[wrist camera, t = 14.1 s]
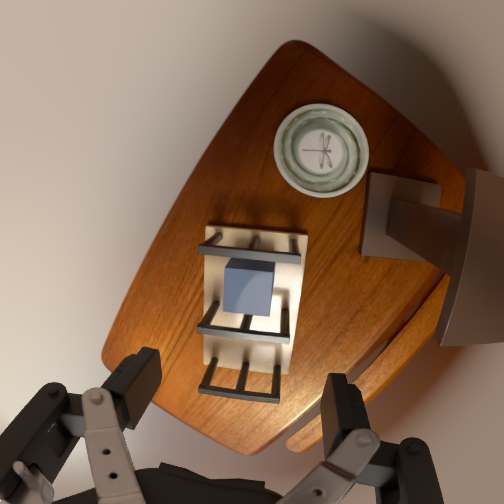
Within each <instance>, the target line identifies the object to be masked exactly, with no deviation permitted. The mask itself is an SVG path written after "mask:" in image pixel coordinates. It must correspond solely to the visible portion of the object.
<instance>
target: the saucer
mask: <svg viewBox="0 0 504 504" xmlns="http://www.w3.org/2000/svg"><path fill="white" fill-rule="evenodd" d="M274 157H275V161H276V165H277V167H278V169H279V171H280V173H281V174H282V176H283V177H284V179H285V180H286V181H287V182H288V183H289V184H290V185H291V186H293V187H294V188H295V189H297V190H298V191H300V192H302V193H304V194H307V195H310V196H314V197H321V198H327V197H334V196H338V195H341V194H343V193H345V192H347V191H349V190H350V189H351V188H353V187H354V186H355V185H356V184H357V183H358V182H359V181H360V179H361V178H362V176H363V175H364V173H365V170H366V168H367V164H368V159H369V147H368V142H367V138H366V135H365V133H364V131H363V129H362V128H361V126H360V125H359V123H358V122H357V121H356V120H355V119H354V118H353V117H352V116H351V115H350V114H348V113H347V112H346V111H344V110H342V109H340V108H338V107H335V106H332V105H328V104H310V105H306V106H303V107H300V108H298V109H296V110H295V111H293V112H292V113H290V114H289V115H288V116H287V117H286V118H285V119H284V120H283V122H282V123H281V124H280V126H279V128H278V130H277V132H276V135H275V140H274Z"/></svg>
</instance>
